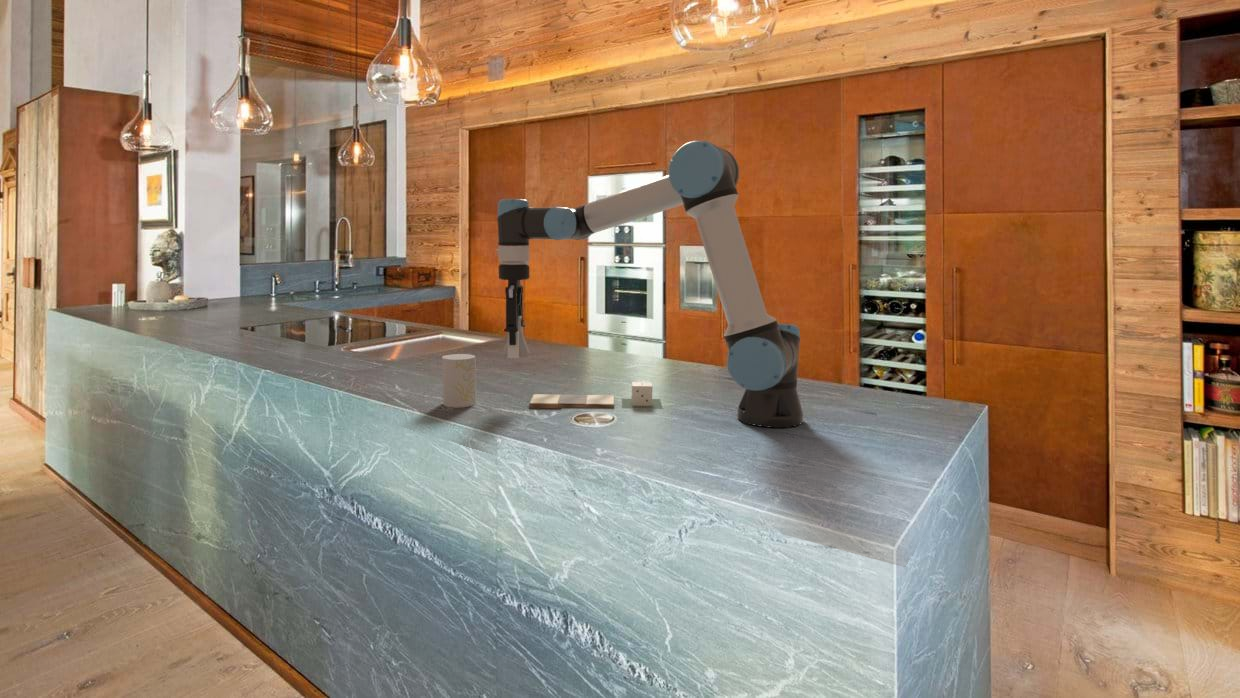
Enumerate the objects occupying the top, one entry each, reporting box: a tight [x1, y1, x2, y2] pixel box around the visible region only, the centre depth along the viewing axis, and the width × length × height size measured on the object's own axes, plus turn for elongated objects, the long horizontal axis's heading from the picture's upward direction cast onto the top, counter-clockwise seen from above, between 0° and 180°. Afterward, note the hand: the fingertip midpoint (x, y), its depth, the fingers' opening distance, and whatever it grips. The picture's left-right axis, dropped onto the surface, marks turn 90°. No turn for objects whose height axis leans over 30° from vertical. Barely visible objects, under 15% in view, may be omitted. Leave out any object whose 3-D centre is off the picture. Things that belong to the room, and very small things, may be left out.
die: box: [630, 381, 653, 406], centre depth 177 cm, size 5×5×5 cm
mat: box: [621, 398, 663, 409], centre depth 177 cm, size 10×10×1 cm
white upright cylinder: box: [441, 353, 477, 409], centre depth 175 cm, size 8×8×12 cm
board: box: [528, 393, 615, 409], centre depth 177 cm, size 21×10×1 cm, turn 91°
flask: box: [501, 316, 531, 358], centre depth 174 cm, size 7×7×10 cm
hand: (515, 355), depth 175 cm, fingers closed on flask, 7 cm apart
